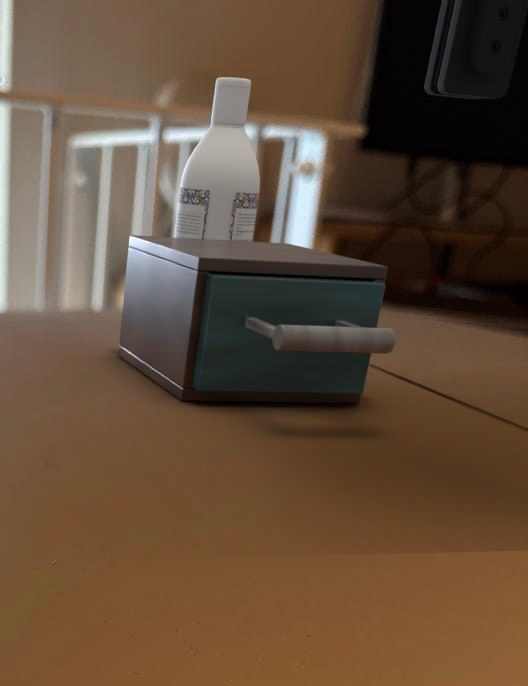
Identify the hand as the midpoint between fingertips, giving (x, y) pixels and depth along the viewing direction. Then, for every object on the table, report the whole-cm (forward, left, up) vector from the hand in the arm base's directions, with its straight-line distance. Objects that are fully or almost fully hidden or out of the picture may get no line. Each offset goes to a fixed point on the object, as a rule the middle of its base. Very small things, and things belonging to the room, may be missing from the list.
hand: (464, 95), depth 43 cm
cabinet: (0, -21, -17) cm, 27 cm away
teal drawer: (0, -16, -16) cm, 23 cm away
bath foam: (-6, -43, -17) cm, 47 cm away
